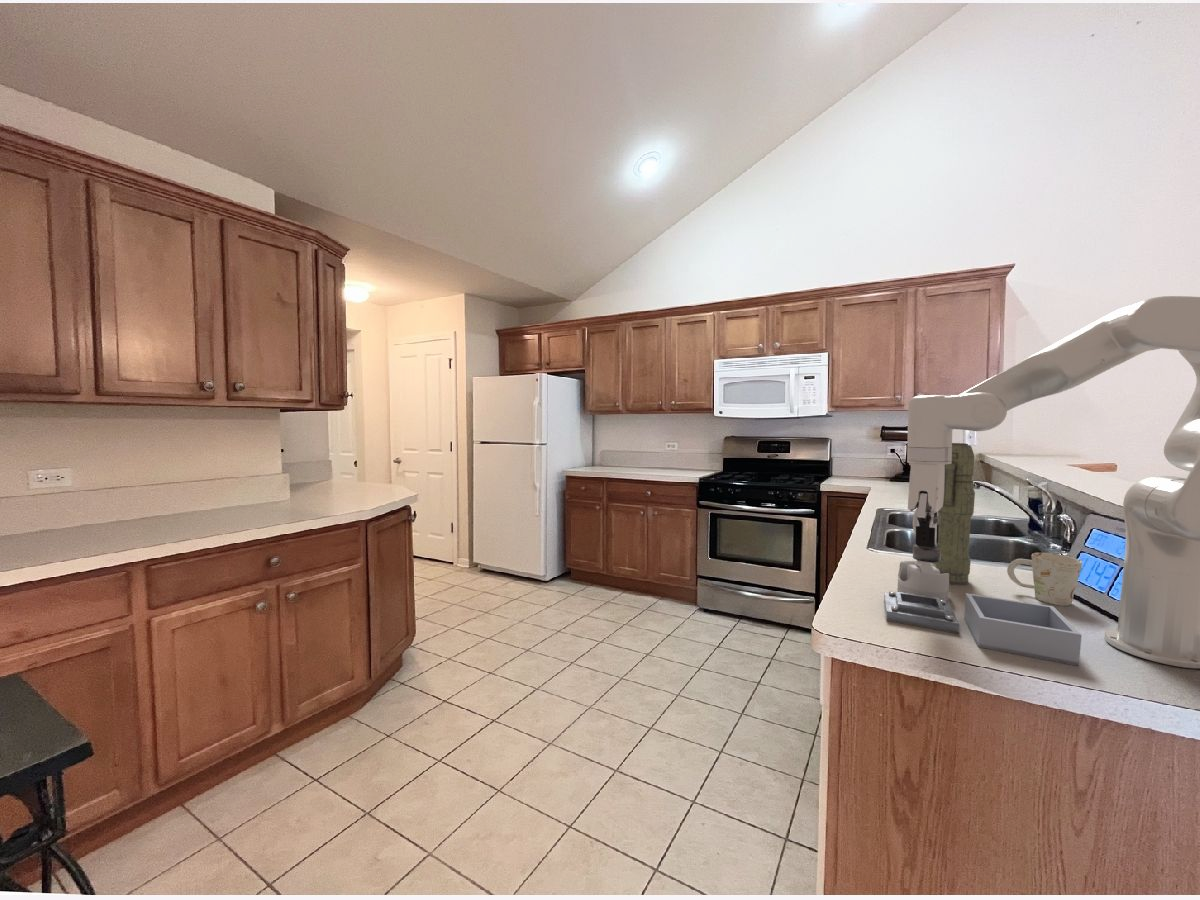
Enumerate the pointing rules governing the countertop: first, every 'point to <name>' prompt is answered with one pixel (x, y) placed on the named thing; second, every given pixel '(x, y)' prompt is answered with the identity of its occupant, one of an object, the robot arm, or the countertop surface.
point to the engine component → (922, 577)
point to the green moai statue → (956, 515)
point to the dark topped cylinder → (928, 548)
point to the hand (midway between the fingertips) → (926, 543)
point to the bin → (1022, 629)
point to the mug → (1050, 577)
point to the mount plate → (920, 611)
